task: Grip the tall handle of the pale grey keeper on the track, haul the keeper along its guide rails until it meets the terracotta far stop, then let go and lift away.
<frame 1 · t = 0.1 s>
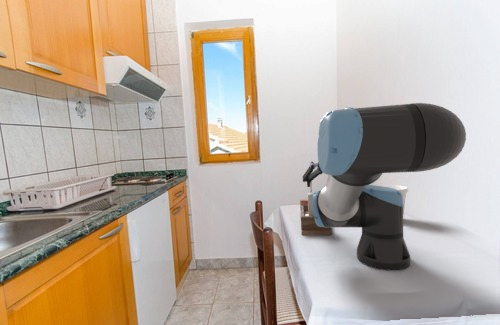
hand: (326, 190, 111), 17 cm above the table, tool tilted 40°, fingers open, 13 cm apart
cup: (392, 220, 119), on the table
keeper: (314, 209, 112), point 9 cm above the table, slide at 0.6 cm, touching gripper
track: (313, 221, 123), on the table
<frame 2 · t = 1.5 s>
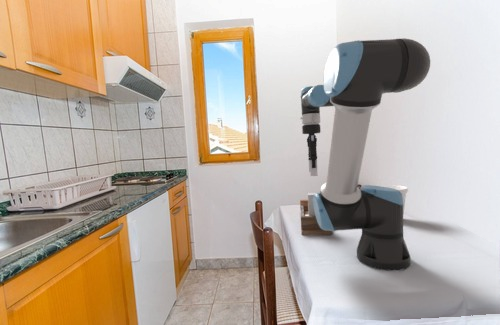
hand: (313, 173, 110), 25 cm above the table, tool pointing down, fingers open, 13 cm apart
keeper: (314, 209, 111), point 9 cm above the table, slide at 0.0 cm
everything else where it was.
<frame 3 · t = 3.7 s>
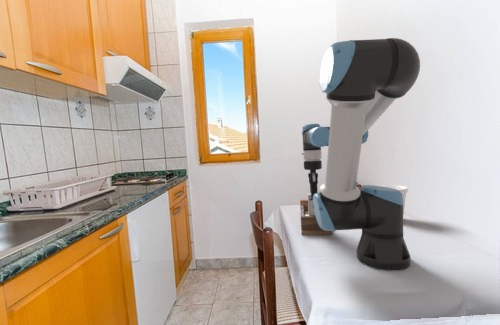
hand: (314, 213, 111), 7 cm above the table, tool pointing down, fingers closed on keeper, 4 cm apart
keeper: (314, 209, 111), point 9 cm above the table, slide at 0.0 cm, touching gripper
everything else where it was.
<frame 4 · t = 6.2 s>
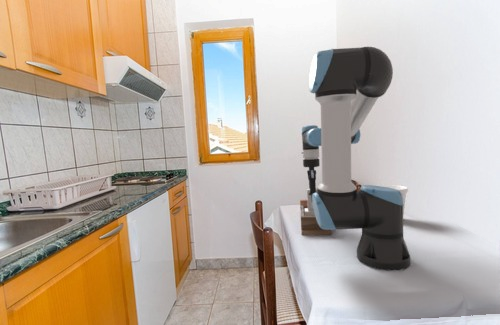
hand: (313, 206, 122), 7 cm above the table, tool pointing down, fingers closed on keeper, 4 cm apart
keeper: (312, 203, 122), point 9 cm above the table, slide at 11.1 cm, touching gripper
everything else where it was.
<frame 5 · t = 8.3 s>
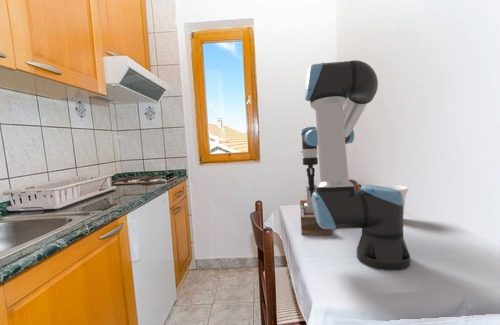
hand: (311, 201, 133), 7 cm above the table, tool pointing down, fingers closed on keeper, 4 cm apart
keeper: (311, 198, 133), point 9 cm above the table, slide at 22.1 cm, touching gripper
everything else where it was.
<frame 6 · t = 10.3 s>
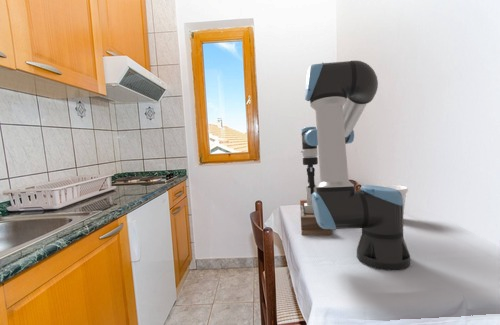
hand: (311, 197, 133), 9 cm above the table, tool pointing down, fingers open, 13 cm apart
keeper: (311, 198, 133), point 9 cm above the table, slide at 22.0 cm
everything else where it was.
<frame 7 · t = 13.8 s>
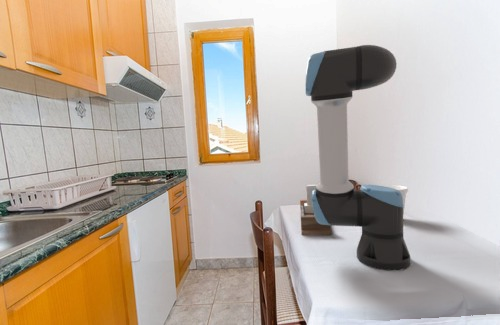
hand: (334, 152, 121), 33 cm above the table, tool pointing down, fingers open, 13 cm apart
nothing on the table moved.
at the end: keeper slide at 22.0 cm; the gripper is holding nothing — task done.
